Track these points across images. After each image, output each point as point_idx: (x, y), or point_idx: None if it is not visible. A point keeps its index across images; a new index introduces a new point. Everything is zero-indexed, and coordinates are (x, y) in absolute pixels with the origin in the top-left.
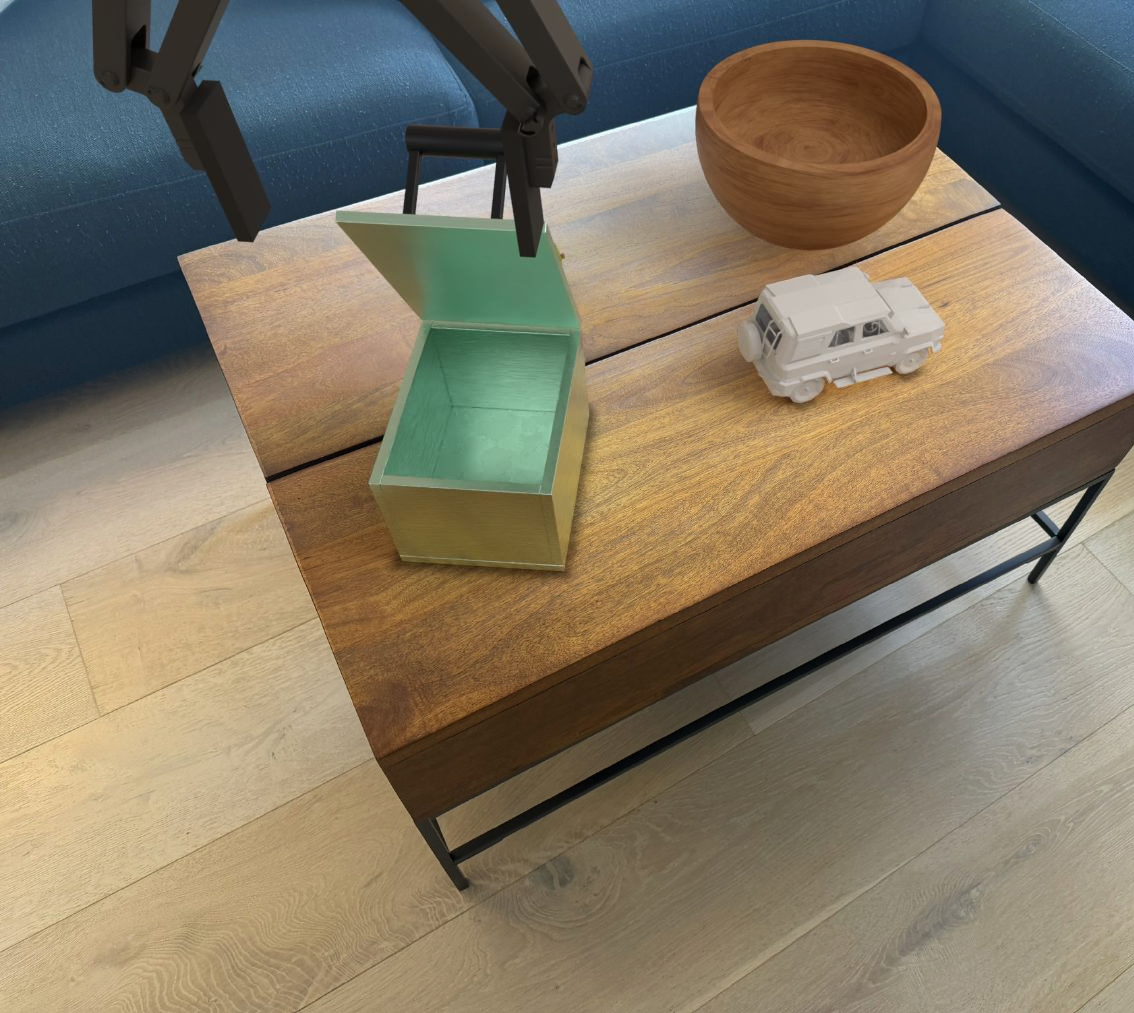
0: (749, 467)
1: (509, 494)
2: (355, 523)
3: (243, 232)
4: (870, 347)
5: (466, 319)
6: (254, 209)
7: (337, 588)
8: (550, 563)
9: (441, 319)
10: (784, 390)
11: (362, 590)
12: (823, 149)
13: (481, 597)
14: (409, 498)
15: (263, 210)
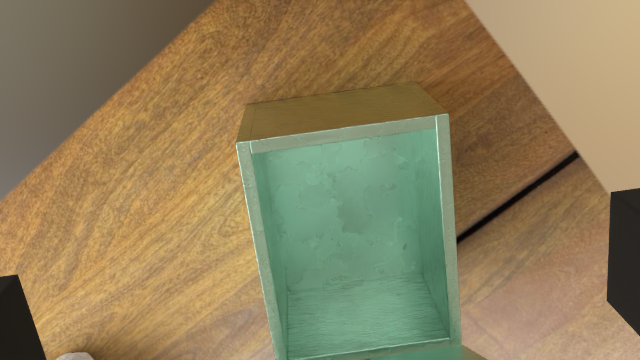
0: (95, 266)
1: (284, 134)
2: (478, 115)
3: (636, 199)
4: None
5: (408, 354)
6: (632, 263)
7: (471, 36)
8: (258, 106)
9: (438, 348)
10: (70, 358)
11: (444, 39)
12: None
13: (320, 57)
14: (401, 113)
15: (617, 279)
